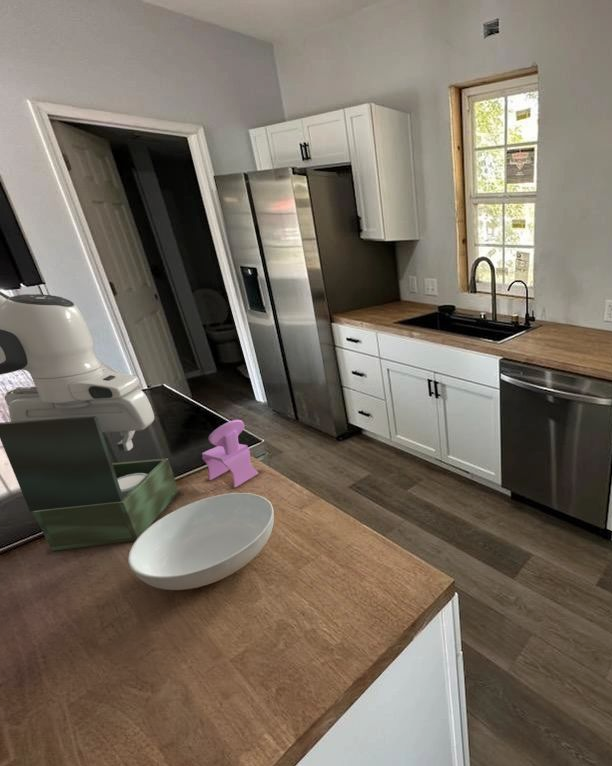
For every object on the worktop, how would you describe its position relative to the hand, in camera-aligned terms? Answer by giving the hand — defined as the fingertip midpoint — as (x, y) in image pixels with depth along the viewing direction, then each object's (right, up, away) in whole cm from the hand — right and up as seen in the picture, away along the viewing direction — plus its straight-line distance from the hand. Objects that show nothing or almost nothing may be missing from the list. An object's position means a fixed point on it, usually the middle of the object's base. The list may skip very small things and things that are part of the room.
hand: (97, 451), depth 80 cm
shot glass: (+2, -13, +6) cm, 15 cm away
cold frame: (0, -15, +5) cm, 15 cm away
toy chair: (+13, -9, +19) cm, 25 cm away
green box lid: (+2, -1, -8) cm, 8 cm away
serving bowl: (+26, -19, -5) cm, 33 cm away
